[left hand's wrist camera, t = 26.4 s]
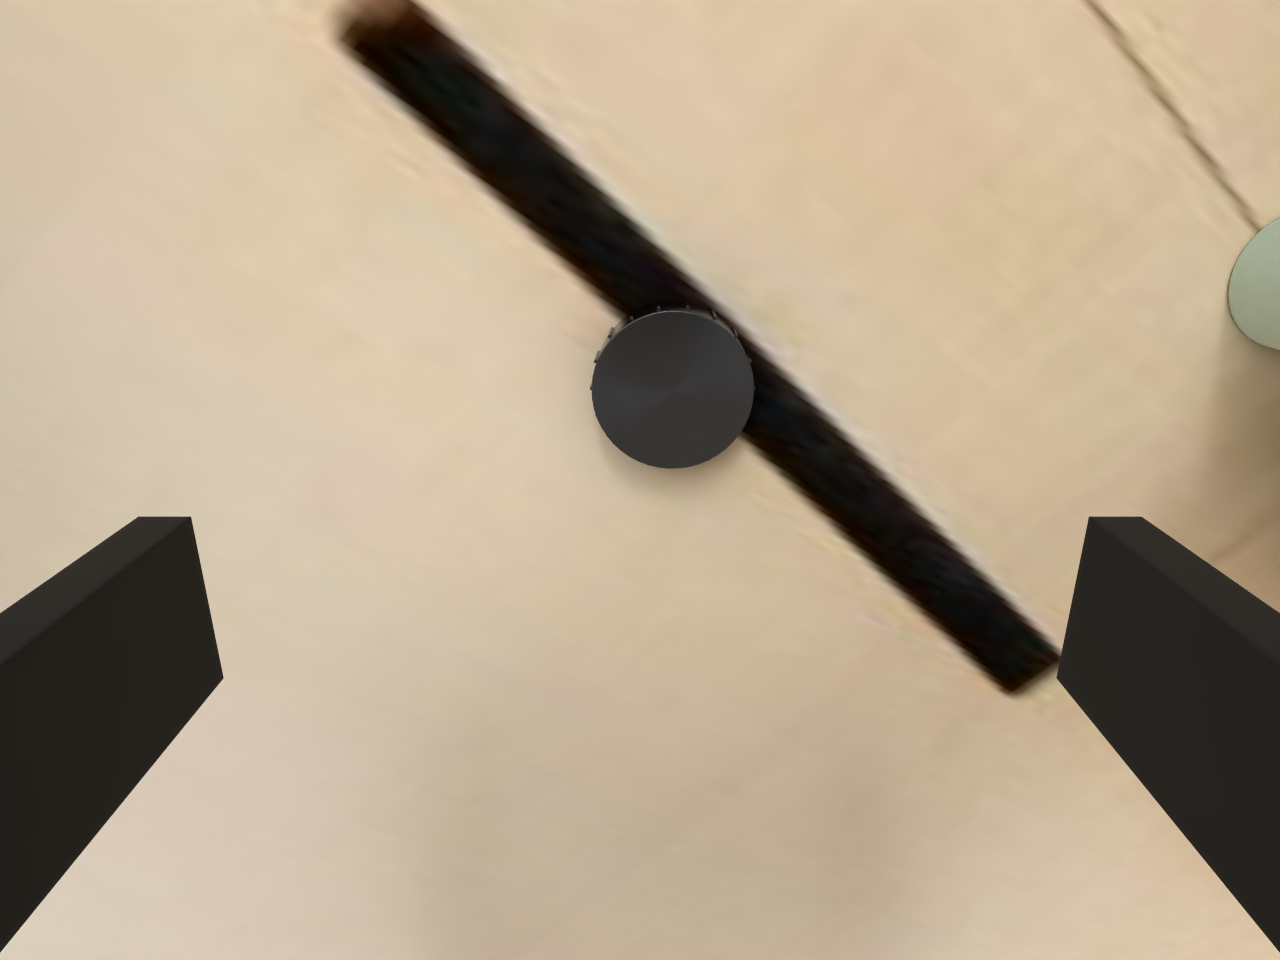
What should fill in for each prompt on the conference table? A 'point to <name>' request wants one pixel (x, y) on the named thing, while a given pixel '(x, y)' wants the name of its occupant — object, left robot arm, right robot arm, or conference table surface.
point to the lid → (672, 385)
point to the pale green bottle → (1258, 288)
